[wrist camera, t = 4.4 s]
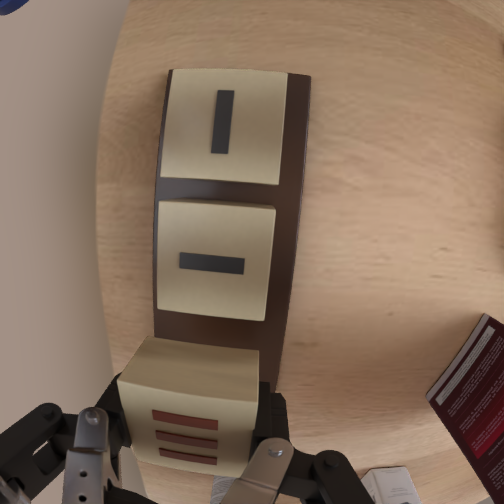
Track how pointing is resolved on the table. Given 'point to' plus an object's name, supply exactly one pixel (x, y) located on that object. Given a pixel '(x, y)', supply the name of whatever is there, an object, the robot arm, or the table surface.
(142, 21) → the table surface
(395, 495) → the ink box
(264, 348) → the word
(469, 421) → the supplement box
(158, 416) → the striped cream block
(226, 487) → the pill bottle
